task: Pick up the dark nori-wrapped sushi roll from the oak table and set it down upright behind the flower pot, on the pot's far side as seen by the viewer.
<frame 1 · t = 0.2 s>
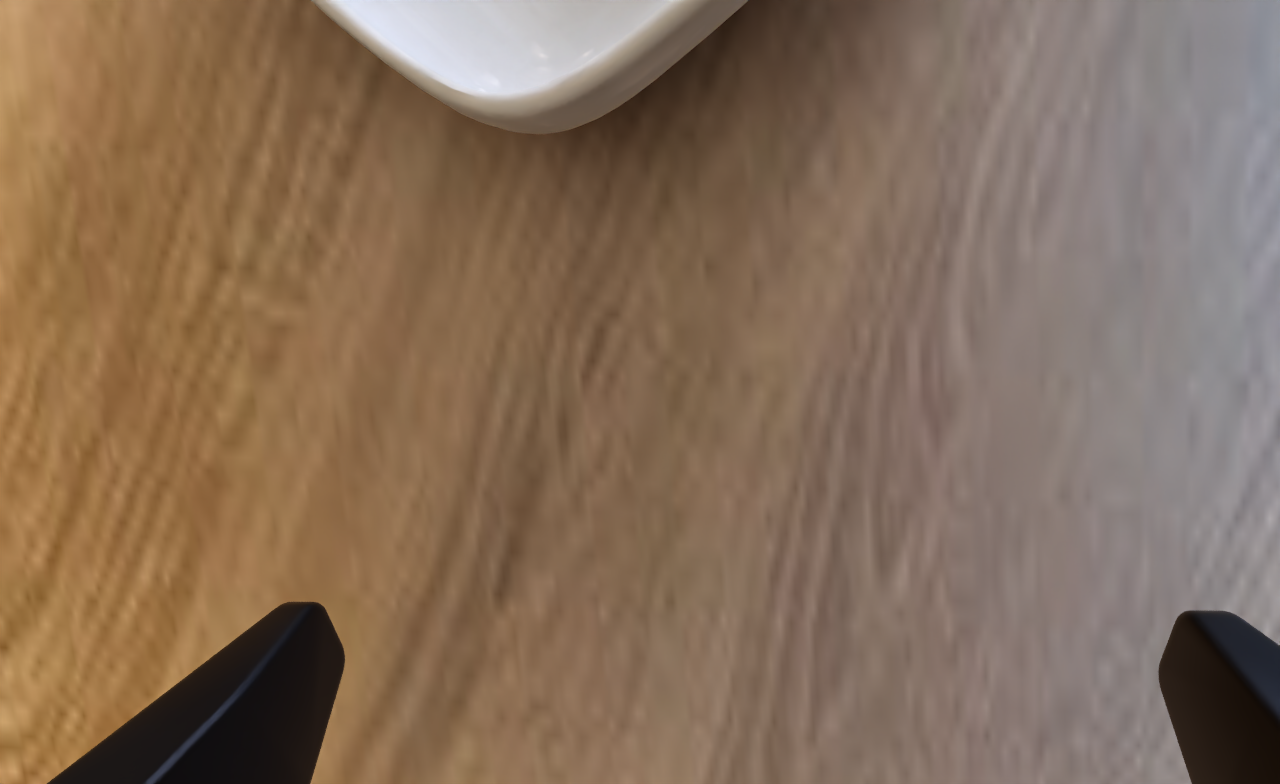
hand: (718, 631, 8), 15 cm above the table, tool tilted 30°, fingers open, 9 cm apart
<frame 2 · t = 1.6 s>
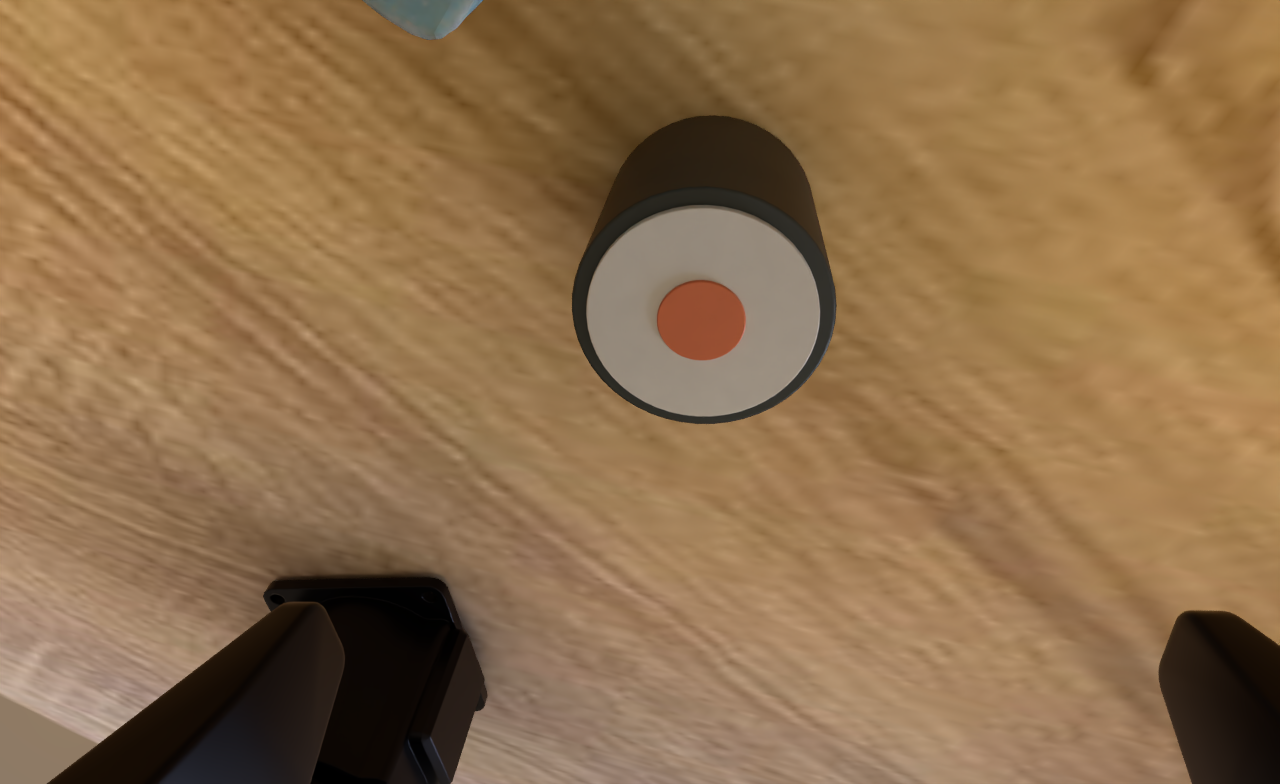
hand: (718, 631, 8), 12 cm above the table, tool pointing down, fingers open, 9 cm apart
sushi: (709, 220, 18), on the table
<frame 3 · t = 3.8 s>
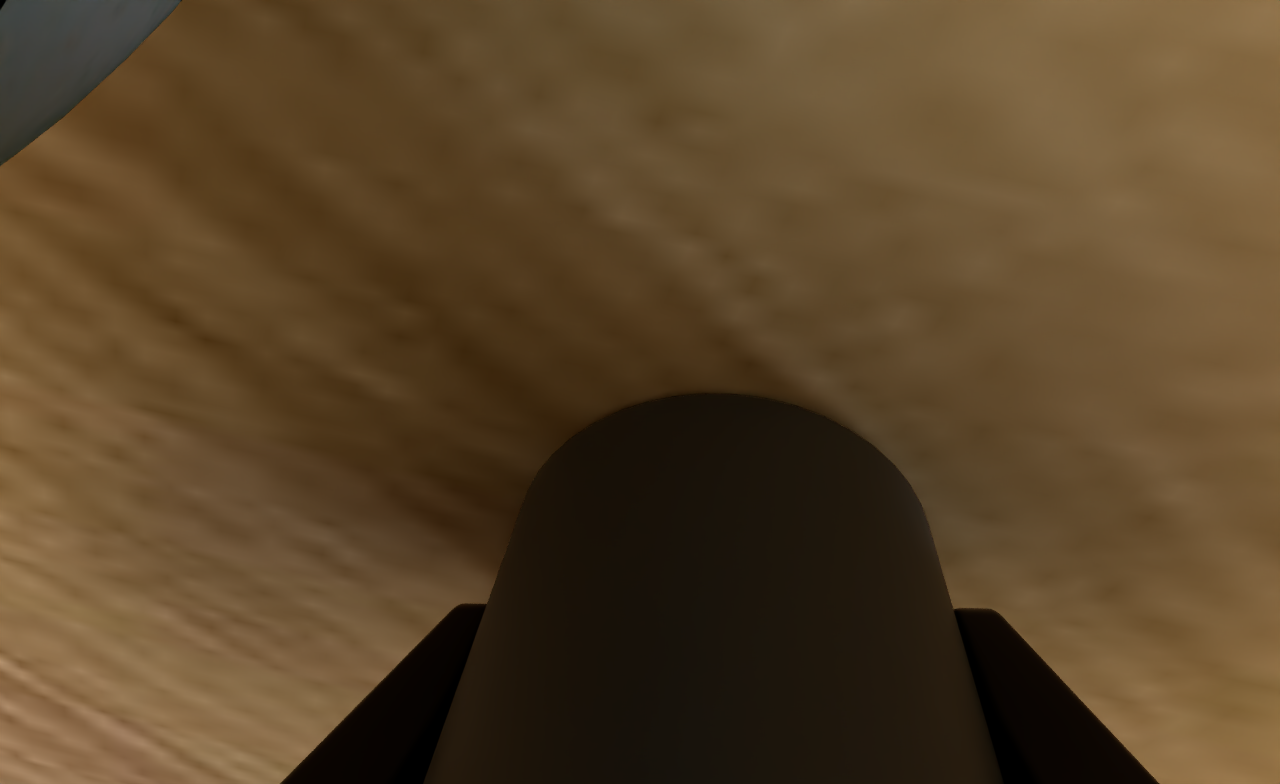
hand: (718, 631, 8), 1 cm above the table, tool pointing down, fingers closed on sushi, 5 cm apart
sushi: (718, 562, 9), on the table, touching gripper
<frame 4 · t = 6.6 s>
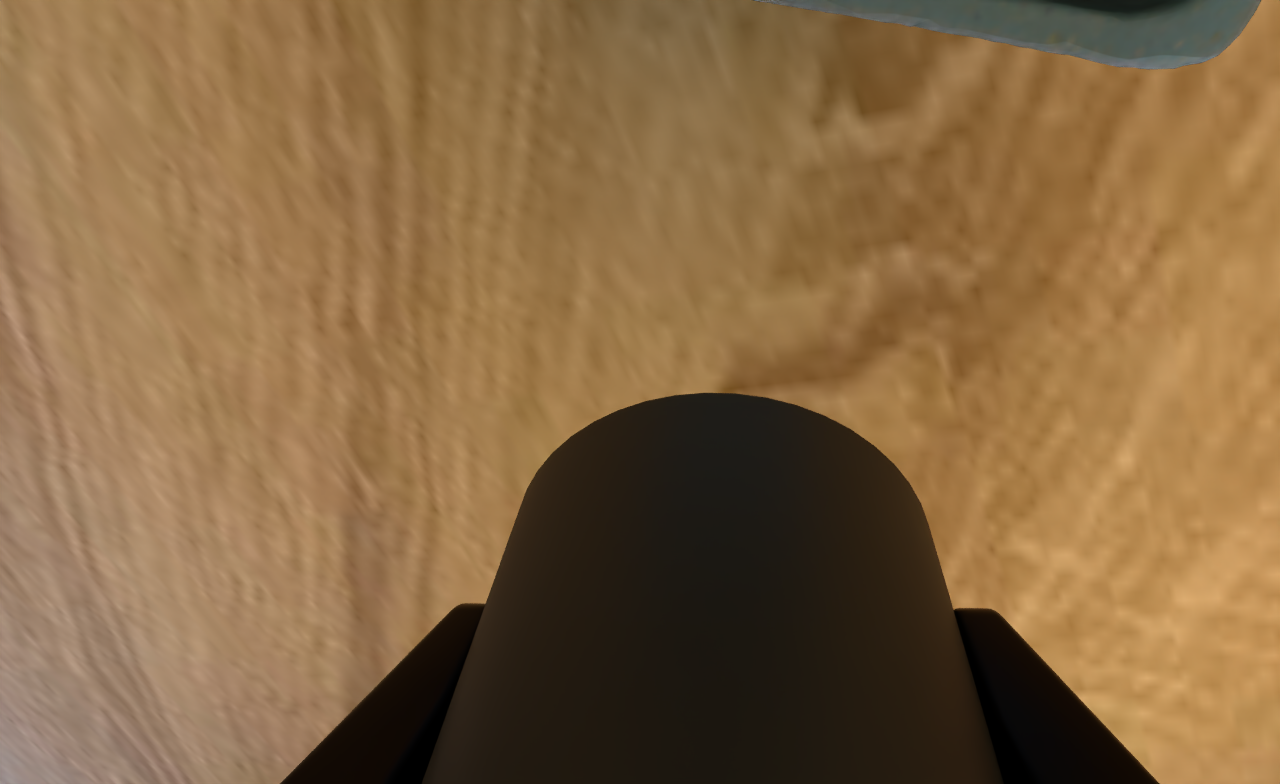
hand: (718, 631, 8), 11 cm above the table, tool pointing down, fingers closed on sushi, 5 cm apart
sushi: (717, 561, 9), point 10 cm above the table, touching gripper
when the fingers open (1 cm above the table, at t = 9.8 s): sushi stays where it is, on the table.
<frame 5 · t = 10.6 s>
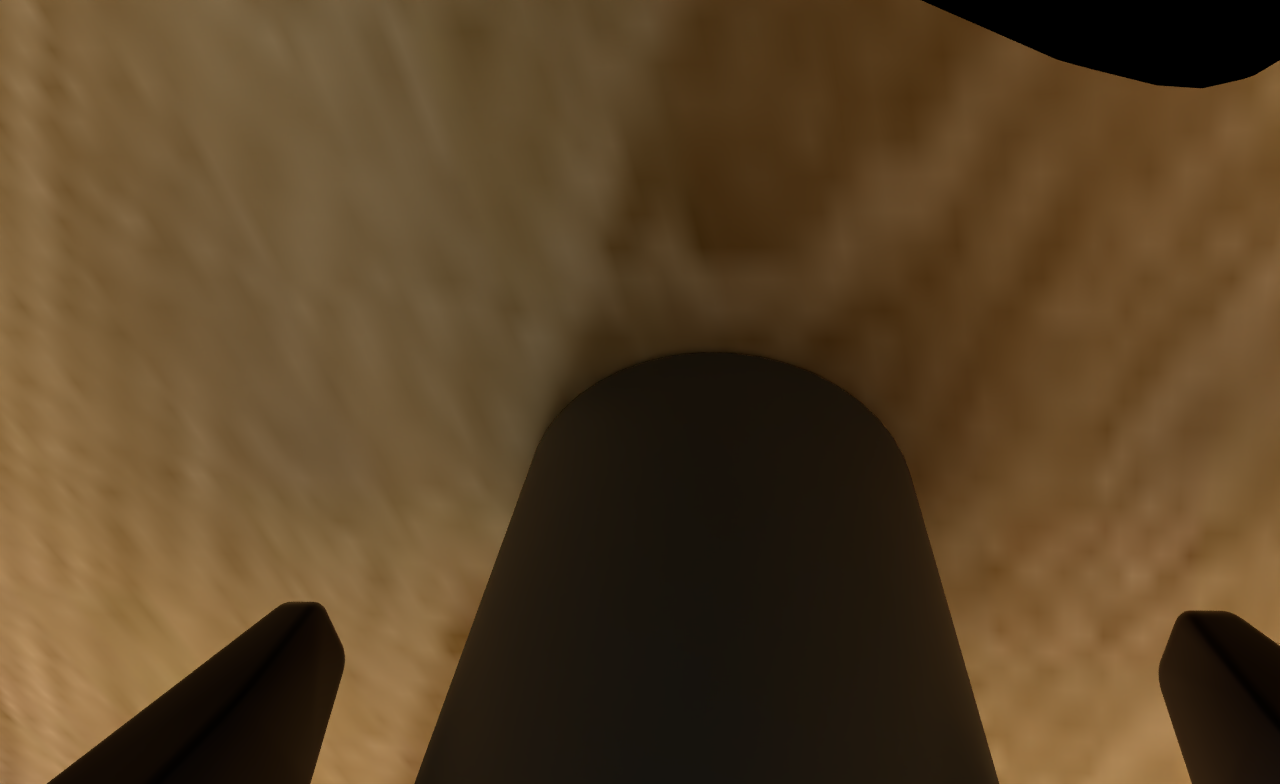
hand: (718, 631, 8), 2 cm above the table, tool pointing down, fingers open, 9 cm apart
sushi: (715, 515, 10), on the table
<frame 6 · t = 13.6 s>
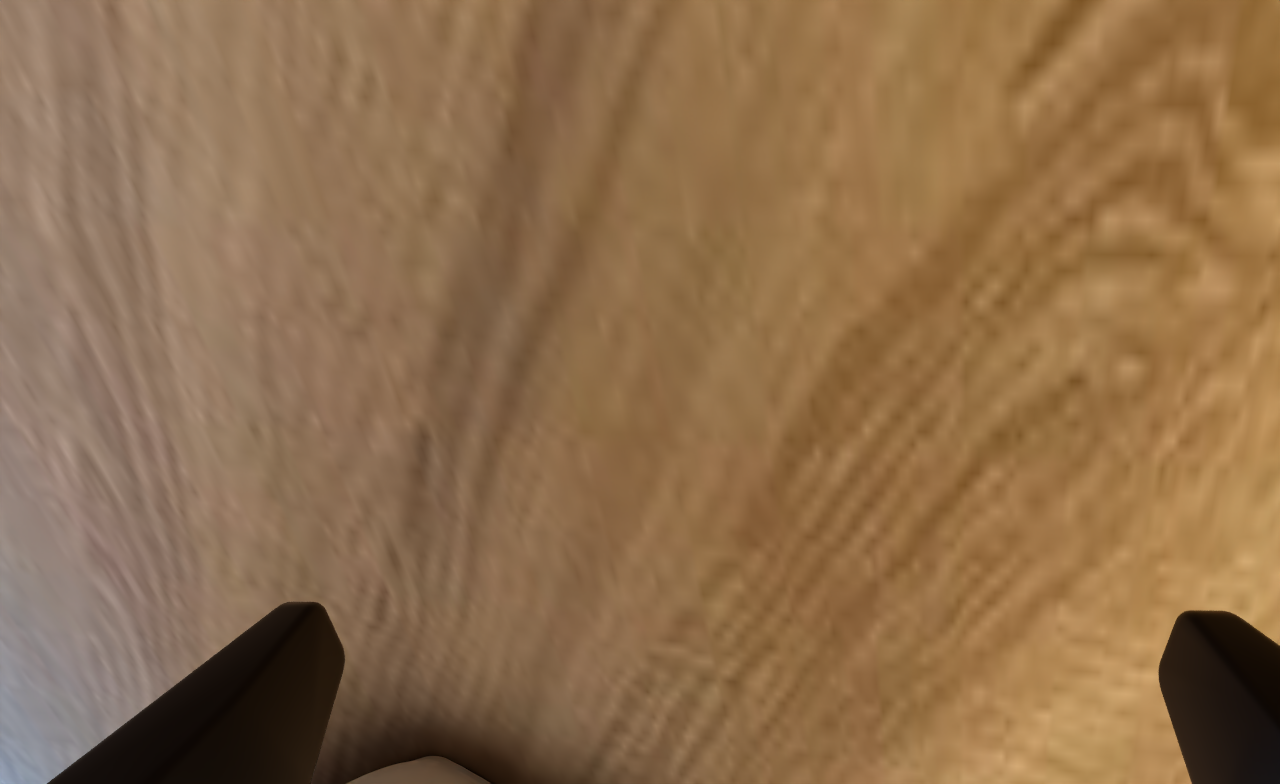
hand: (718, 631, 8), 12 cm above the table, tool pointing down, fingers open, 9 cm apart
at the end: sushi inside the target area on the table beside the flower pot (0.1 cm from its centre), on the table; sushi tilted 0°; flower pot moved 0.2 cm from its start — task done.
